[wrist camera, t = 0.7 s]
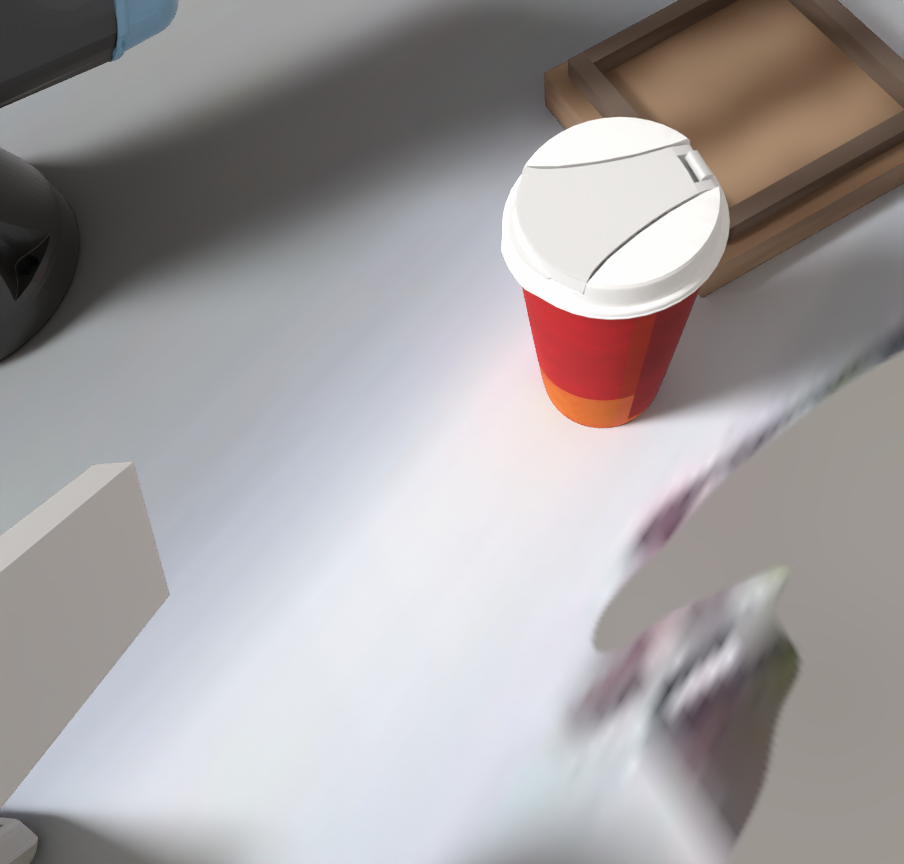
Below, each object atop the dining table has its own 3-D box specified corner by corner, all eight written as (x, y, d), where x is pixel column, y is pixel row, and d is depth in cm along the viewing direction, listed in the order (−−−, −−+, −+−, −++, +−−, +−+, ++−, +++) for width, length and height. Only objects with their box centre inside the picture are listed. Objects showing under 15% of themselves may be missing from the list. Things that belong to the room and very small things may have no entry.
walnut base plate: (545, 105, 50) (543, 57, 46) (767, -16, 51) (781, -72, 47) (701, 297, 43) (713, 259, 40) (950, 156, 45) (982, 106, 41)
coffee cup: (638, 284, 44) (669, 73, 30) (711, 412, 41) (781, 242, 27) (496, 342, 44) (461, 157, 30) (557, 475, 41) (550, 336, 27)
